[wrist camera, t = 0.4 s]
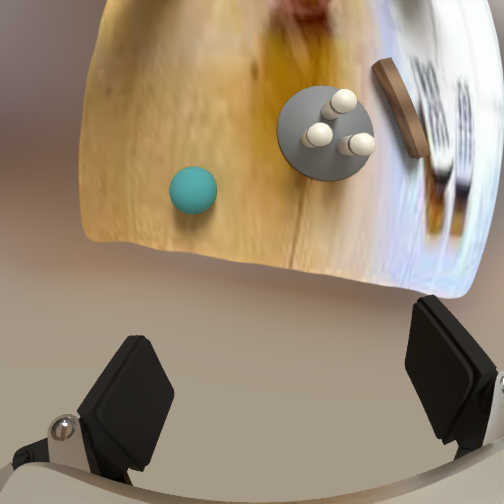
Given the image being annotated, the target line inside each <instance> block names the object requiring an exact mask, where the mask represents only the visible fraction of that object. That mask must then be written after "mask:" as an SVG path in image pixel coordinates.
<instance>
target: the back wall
mask: <svg viewBox="0 0 504 504" xmlns="http://www.w3.org/2000/svg"><path fill="white" fill-rule="evenodd" d="M372 67H373V69H374V71H375V73H376V75H377V77H378V79H379V81H380V83H381V86H382V88H383V90H384V92H385V94H386V96H387V99H388V101H389V103H390V106H391V108H392V110H393V113H394V115H395V118H396V120H397V123H398V125H399V128H400V130H401V133H402V136H403V139H404V141H405V144H406V147H407V150H408V153H409V156H410V157H412V158H422V157H424V156H427V155H430V154H431V153H430V150H429V147H428V144H427V141H426V138H425V135H424V132H423V129H422V126H421V124H420V121H419V118H418V116H417V113H416V111H415V108H414V106H413V103H412V101H411V98H410V96H409V94H408V91H407V89H406V87H405V85H404V83H403V80H402V78H401V76H400V74H399V72H398V70H397V68H396V66H395V64H394V62H393V60H392V58H386V59H381V60H378V61H377V62H376V63H375V64H374V65H372Z"/></svg>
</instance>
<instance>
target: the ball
mask: <svg viewBox="0 0 504 504" xmlns="http://www.w3.org/2000/svg"><path fill="white" fill-rule="evenodd" d="M169 193H170V198H171V201H172V203H173V204H174V206H175V207H176V208H177V209H178V210H180V211H182V212H184V213H187V214H199V213H202V212H204V211H206V210H207V209H209V208H210V207H211V205H212V204H213V203H214V201H215V199H216V196H217V185H216V181H215V179H214V177H213V176H212V175H211V174H210V173H209V172H208V171H207V170H205V169H203V168H200V167H188V168H185V169H183V170H181V171H179V172H178V173H177V174H176V175H175V176H174V178H173V179H172V181H171V184H170V190H169Z"/></svg>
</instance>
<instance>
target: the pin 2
mask: <svg viewBox="0 0 504 504" xmlns="http://www.w3.org/2000/svg"><path fill="white" fill-rule="evenodd" d="M375 146H376V145H375V141H374V139H373V137H372V136H371V135H369V134H367V133H360V134H354V135H351V136H346V137H342V138H340V139H338V141H337V143H336V148H337V150H338V152H339V153H341V154H343V155H356V156H368V155H370V154H372V153H373V152H374V150H375Z"/></svg>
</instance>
